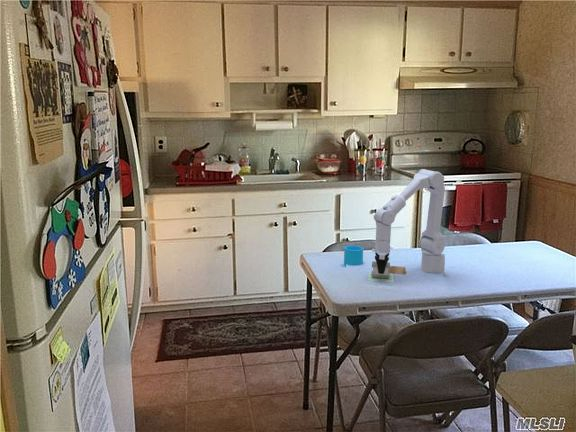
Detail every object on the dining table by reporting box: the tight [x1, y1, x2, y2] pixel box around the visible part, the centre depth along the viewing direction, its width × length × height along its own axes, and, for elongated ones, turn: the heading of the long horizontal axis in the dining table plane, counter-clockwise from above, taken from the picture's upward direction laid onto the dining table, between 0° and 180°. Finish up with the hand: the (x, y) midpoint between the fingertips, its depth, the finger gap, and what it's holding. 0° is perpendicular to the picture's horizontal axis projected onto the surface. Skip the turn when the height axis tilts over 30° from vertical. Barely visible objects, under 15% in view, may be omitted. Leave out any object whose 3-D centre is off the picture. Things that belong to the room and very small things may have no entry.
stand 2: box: [388, 265, 407, 275], centre depth 217 cm, size 10×10×2 cm
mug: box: [343, 245, 364, 268], centre depth 228 cm, size 12×8×8 cm
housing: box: [371, 261, 391, 278], centre depth 207 cm, size 7×4×5 cm, turn 79°
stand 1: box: [367, 271, 395, 287], centre depth 208 cm, size 10×10×2 cm
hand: (381, 271), depth 207 cm, fingers closed on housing, 4 cm apart
